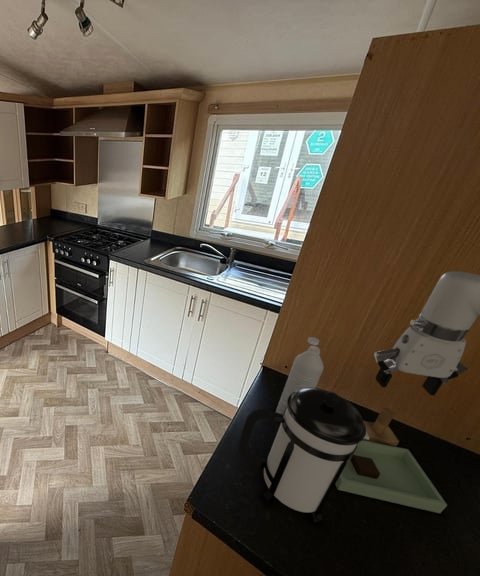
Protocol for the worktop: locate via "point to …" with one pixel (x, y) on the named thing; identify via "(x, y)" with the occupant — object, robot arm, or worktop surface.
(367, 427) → the brush
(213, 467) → the worktop surface
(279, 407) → the water bottle
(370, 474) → the brown square block
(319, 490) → the coffee press
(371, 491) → the tray
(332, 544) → the worktop surface
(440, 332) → the robot arm
